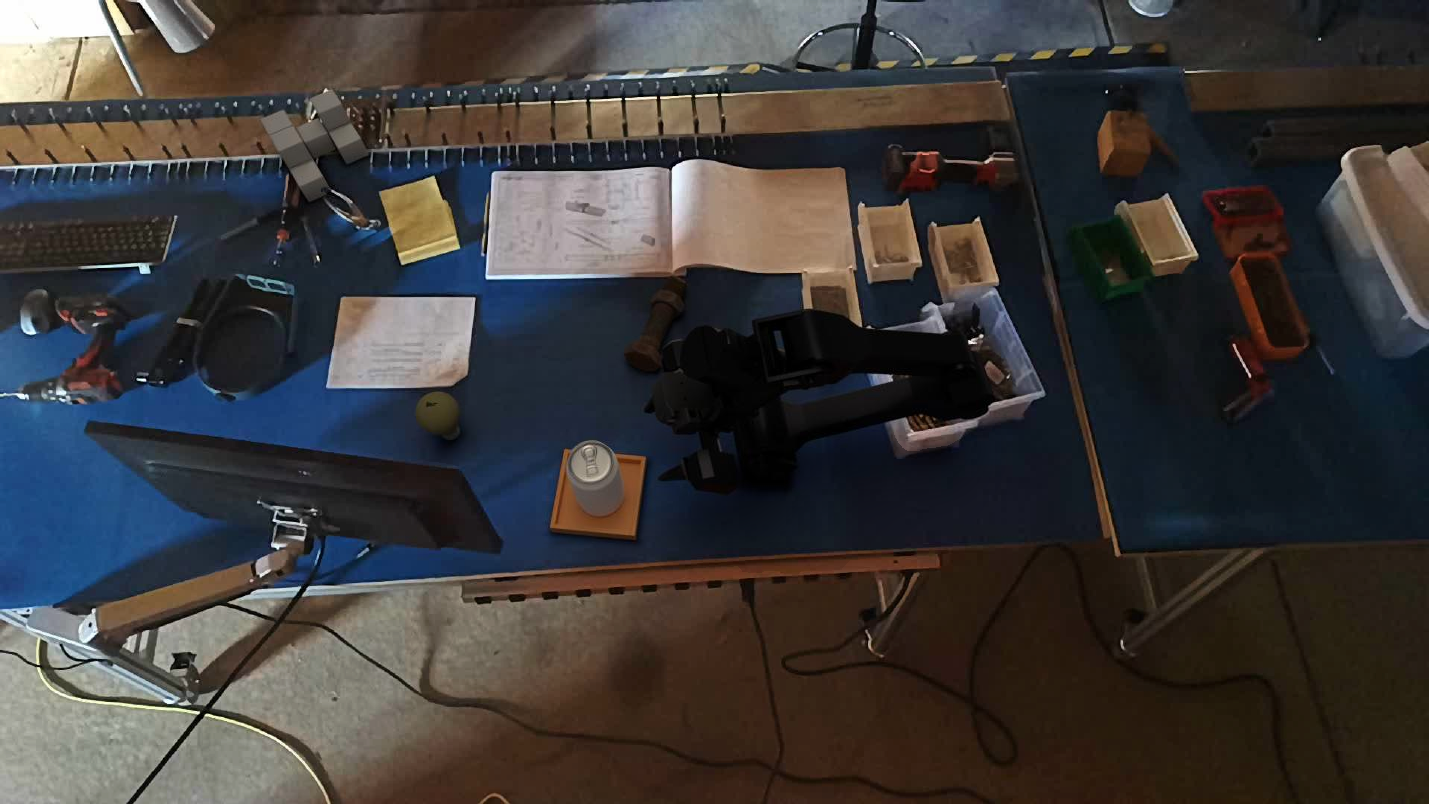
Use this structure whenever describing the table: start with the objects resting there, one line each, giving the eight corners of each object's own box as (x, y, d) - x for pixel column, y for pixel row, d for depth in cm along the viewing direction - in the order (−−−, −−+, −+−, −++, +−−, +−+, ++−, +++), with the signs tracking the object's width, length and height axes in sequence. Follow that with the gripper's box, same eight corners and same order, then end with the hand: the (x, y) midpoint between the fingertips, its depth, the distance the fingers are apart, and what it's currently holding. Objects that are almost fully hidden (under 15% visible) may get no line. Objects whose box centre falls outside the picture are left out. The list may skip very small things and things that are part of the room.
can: (620, 468, 117) (612, 432, 106) (629, 512, 114) (620, 480, 103) (573, 477, 116) (560, 442, 105) (580, 522, 113) (567, 490, 103)
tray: (646, 462, 118) (646, 456, 116) (635, 540, 113) (634, 535, 111) (566, 454, 118) (564, 448, 116) (552, 532, 113) (549, 527, 112)
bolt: (682, 296, 132) (647, 376, 125) (655, 279, 130) (618, 358, 123) (700, 282, 127) (664, 364, 120) (672, 264, 125) (634, 346, 119)
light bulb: (439, 459, 118) (417, 429, 109) (426, 426, 120) (403, 394, 111) (478, 442, 119) (459, 411, 110) (464, 410, 121) (444, 377, 112)
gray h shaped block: (309, 202, 137) (287, 168, 130) (282, 154, 141) (259, 118, 134) (379, 171, 140) (361, 136, 133) (350, 124, 144) (332, 88, 137)
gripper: (677, 299, 94) (589, 365, 102) (714, 452, 86) (615, 510, 95) (744, 323, 102) (657, 383, 110) (783, 466, 94) (686, 519, 102)
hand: (653, 445), depth 104 cm, fingers open, 9 cm apart
